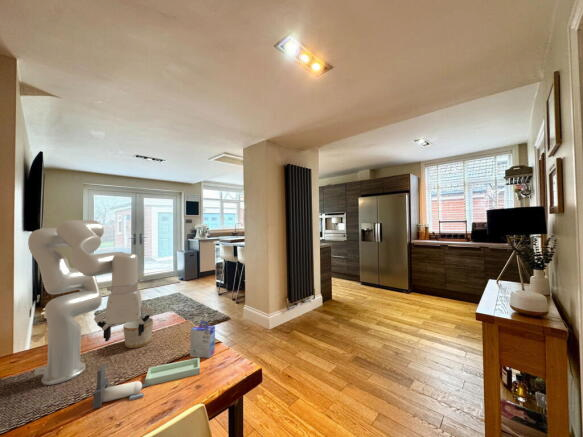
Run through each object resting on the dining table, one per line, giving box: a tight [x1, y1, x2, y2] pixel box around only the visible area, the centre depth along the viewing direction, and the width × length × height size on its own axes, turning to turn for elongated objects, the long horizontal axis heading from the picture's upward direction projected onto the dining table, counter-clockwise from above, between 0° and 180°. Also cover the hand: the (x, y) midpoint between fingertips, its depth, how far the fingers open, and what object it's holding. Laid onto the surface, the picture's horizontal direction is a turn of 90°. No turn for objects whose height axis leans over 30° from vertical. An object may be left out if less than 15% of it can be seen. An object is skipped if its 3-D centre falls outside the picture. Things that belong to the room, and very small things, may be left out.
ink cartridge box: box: [189, 320, 216, 359], centre depth 107 cm, size 10×6×14 cm, turn 84°
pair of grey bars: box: [129, 382, 148, 401], centre depth 83 cm, size 4×7×1 cm, turn 22°
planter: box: [123, 317, 154, 349], centre depth 117 cm, size 13×13×10 cm
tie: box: [92, 363, 109, 410], centre depth 79 cm, size 2×7×11 cm, turn 22°
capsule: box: [102, 380, 143, 403], centre depth 81 cm, size 14×4×4 cm, turn 112°
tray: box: [144, 357, 201, 387], centre depth 93 cm, size 19×8×2 cm, turn 112°
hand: (124, 336), depth 82 cm, fingers open, 9 cm apart
